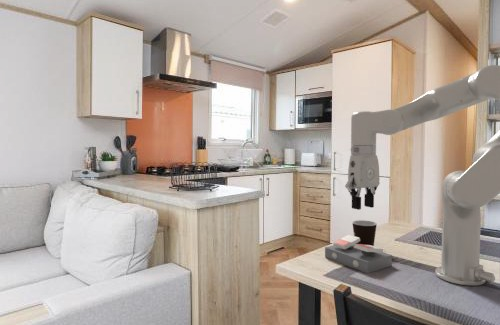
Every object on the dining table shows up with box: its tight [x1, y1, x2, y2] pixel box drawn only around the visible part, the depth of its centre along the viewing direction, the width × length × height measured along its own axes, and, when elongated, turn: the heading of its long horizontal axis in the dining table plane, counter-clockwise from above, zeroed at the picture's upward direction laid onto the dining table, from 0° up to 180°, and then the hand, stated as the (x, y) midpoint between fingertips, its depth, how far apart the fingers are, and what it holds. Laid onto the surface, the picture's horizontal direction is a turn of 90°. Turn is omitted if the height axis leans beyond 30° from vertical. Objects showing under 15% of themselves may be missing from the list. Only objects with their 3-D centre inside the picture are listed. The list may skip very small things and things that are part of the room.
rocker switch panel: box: [324, 244, 393, 274], centre depth 115 cm, size 18×12×4 cm
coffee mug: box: [352, 219, 378, 246], centre depth 129 cm, size 12×9×10 cm
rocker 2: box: [354, 244, 384, 253], centre depth 111 cm, size 5×8×1 cm, turn 122°
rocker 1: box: [332, 234, 360, 250], centre depth 119 cm, size 5×8×1 cm, turn 122°
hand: (362, 207), depth 109 cm, fingers open, 5 cm apart
